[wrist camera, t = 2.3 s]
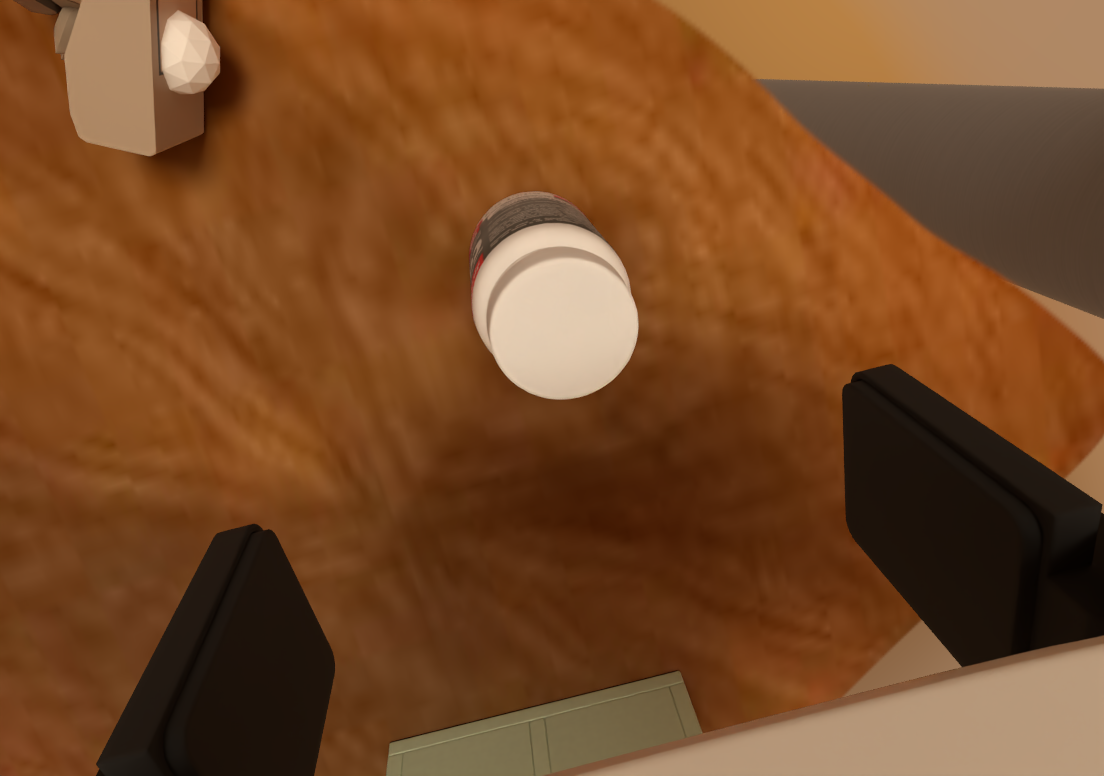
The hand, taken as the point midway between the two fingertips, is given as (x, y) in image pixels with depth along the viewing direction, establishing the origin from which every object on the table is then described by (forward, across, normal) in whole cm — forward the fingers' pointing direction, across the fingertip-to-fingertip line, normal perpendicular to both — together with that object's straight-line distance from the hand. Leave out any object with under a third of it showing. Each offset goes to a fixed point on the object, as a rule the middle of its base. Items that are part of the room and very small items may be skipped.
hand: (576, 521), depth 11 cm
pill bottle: (+16, -1, 0) cm, 16 cm away
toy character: (+14, +6, -10) cm, 18 cm away
